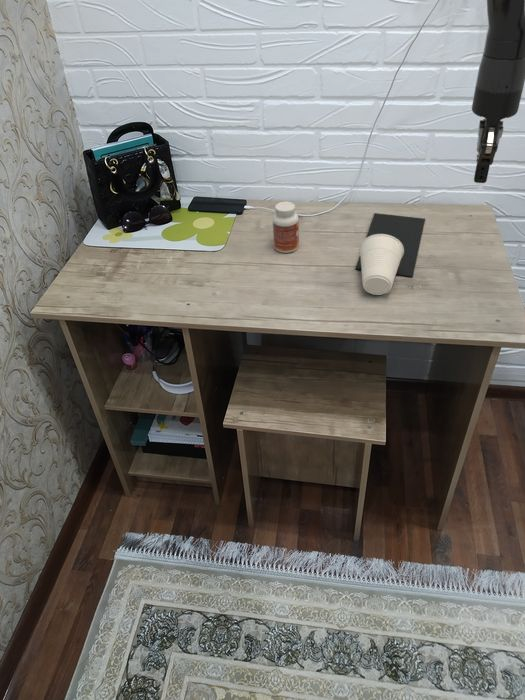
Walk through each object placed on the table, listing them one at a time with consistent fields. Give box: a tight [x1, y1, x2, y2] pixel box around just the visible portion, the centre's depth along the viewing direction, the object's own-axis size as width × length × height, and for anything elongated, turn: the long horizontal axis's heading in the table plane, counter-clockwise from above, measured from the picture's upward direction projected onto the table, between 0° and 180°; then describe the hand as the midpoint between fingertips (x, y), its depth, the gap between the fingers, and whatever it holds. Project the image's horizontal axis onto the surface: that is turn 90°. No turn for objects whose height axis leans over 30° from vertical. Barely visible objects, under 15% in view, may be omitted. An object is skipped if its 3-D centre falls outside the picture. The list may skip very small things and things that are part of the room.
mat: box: [354, 212, 426, 278], centre depth 139 cm, size 26×13×1 cm, turn 162°
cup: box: [358, 234, 404, 296], centre depth 125 cm, size 10×10×11 cm
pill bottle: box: [272, 201, 300, 254], centre depth 137 cm, size 6×6×11 cm
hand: (479, 180), depth 107 cm, fingers closed
